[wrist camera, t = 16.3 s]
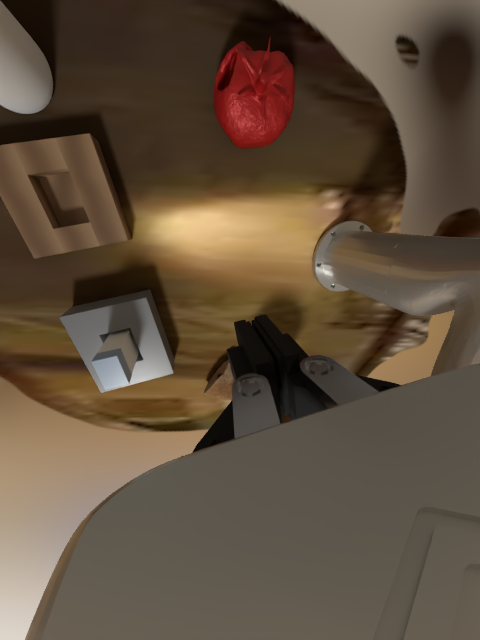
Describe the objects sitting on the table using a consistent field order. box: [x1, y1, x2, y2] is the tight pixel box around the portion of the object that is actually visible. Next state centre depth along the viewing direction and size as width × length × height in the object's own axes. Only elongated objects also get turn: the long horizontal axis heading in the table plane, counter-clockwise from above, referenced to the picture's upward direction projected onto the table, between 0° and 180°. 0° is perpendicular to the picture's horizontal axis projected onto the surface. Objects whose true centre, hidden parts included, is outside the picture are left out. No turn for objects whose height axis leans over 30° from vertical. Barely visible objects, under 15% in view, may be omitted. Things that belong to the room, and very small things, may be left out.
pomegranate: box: [214, 37, 295, 149], centre depth 28 cm, size 10×10×9 cm
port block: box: [59, 289, 174, 393], centre depth 38 cm, size 12×14×5 cm
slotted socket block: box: [0, 133, 132, 259], centre depth 30 cm, size 12×12×3 cm
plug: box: [91, 328, 140, 390], centre depth 35 cm, size 3×5×11 cm
